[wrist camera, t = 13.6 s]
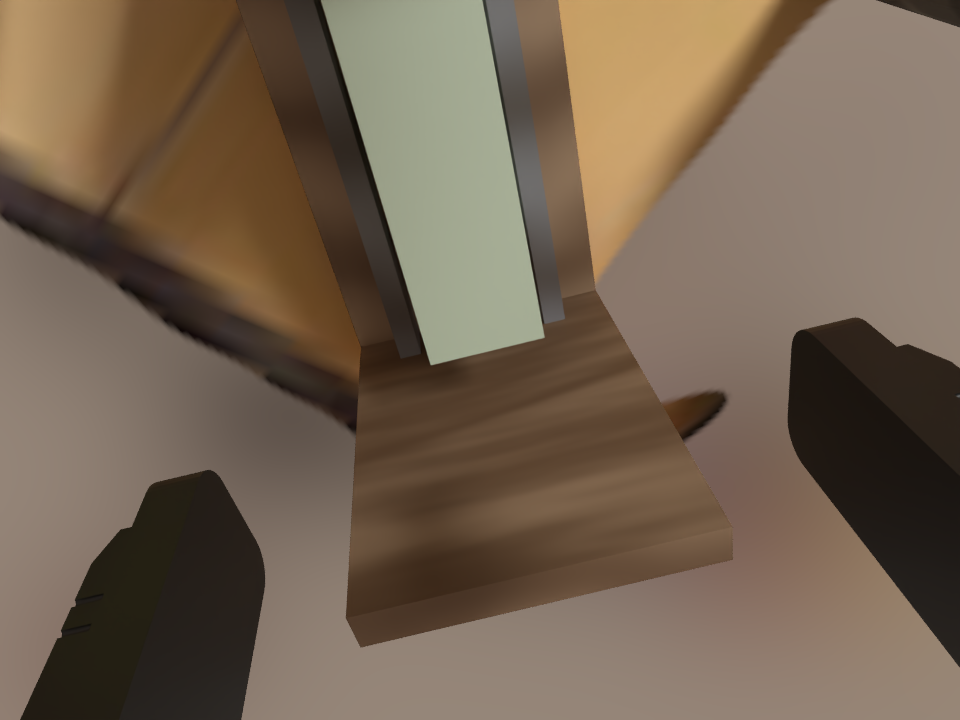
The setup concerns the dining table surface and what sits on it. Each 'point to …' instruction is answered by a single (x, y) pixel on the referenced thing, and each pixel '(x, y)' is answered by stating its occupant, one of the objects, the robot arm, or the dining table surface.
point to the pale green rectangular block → (441, 167)
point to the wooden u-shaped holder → (486, 371)
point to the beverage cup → (932, 9)
